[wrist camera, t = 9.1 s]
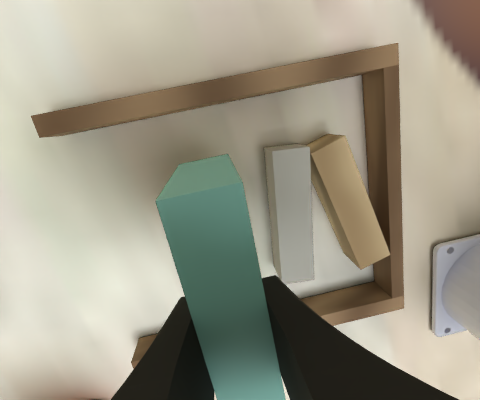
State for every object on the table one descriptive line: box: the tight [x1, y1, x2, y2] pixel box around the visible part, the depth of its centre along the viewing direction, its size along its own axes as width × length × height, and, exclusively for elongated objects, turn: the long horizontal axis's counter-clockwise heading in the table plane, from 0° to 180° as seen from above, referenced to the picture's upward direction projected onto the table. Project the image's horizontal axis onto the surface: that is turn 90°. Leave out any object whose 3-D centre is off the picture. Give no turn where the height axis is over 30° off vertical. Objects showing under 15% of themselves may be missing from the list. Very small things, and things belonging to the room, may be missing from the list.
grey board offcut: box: [264, 144, 314, 284], centre depth 16 cm, size 2×8×2 cm, turn 6°
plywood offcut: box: [306, 134, 390, 270], centre depth 16 cm, size 2×8×2 cm, turn 26°
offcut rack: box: [31, 43, 404, 368], centre depth 16 cm, size 18×16×2 cm
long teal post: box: [156, 154, 286, 400], centre depth 10 cm, size 2×10×5 cm, turn 10°
